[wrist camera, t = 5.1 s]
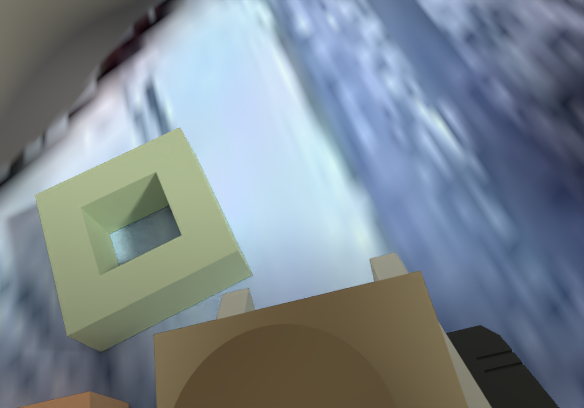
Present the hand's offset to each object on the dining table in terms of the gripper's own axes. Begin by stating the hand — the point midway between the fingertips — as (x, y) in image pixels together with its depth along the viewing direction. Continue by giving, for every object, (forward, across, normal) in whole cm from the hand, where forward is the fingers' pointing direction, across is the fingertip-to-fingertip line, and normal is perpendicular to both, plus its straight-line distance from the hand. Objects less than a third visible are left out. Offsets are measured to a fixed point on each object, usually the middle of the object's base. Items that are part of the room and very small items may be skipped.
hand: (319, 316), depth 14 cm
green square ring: (+12, -8, 0) cm, 14 cm away
